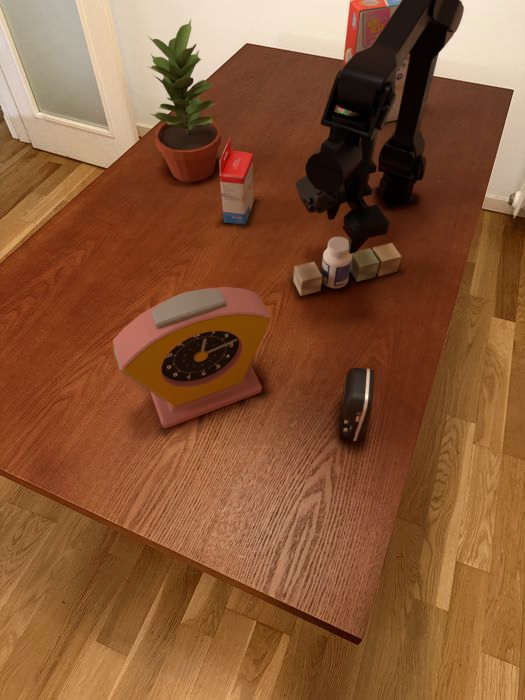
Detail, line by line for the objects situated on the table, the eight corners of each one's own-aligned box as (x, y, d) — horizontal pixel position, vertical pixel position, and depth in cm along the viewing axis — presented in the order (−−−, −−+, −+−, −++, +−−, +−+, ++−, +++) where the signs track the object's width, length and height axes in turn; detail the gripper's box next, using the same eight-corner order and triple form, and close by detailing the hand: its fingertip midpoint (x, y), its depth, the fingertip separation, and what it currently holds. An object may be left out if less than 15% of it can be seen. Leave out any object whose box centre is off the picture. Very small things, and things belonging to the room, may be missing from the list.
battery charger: (339, 400, 80) (348, 360, 71) (362, 404, 80) (375, 364, 71) (335, 440, 76) (344, 402, 67) (360, 444, 76) (372, 407, 67)
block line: (387, 258, 99) (392, 242, 96) (397, 271, 97) (401, 256, 94) (293, 281, 96) (294, 266, 93) (300, 296, 94) (301, 281, 90)
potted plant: (148, 181, 114) (116, 38, 90) (179, 145, 123) (157, 5, 98) (207, 196, 111) (190, 52, 87) (235, 158, 119) (226, 17, 95)
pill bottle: (350, 272, 97) (357, 237, 90) (344, 291, 94) (350, 257, 87) (324, 266, 98) (328, 231, 91) (317, 285, 95) (321, 250, 88)
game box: (407, 106, 132) (435, -14, 110) (417, 117, 129) (448, -5, 107) (335, 120, 129) (349, -2, 107) (343, 132, 126) (360, 8, 103)
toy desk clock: (147, 436, 77) (112, 356, 59) (131, 389, 82) (95, 302, 64) (277, 387, 82) (280, 300, 64) (255, 345, 87) (252, 254, 69)
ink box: (246, 226, 105) (243, 164, 93) (223, 223, 106) (217, 161, 94) (254, 200, 110) (252, 138, 98) (232, 198, 111) (228, 136, 99)
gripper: (282, 132, 79) (280, 212, 91) (327, 204, 68) (318, 283, 81) (347, 119, 81) (336, 199, 93) (401, 187, 70) (380, 267, 83)
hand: (341, 235), depth 88 cm, fingers open, 9 cm apart
